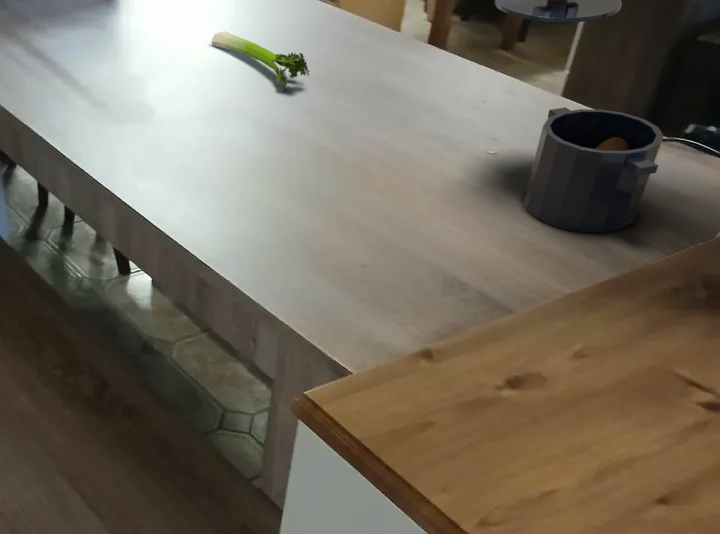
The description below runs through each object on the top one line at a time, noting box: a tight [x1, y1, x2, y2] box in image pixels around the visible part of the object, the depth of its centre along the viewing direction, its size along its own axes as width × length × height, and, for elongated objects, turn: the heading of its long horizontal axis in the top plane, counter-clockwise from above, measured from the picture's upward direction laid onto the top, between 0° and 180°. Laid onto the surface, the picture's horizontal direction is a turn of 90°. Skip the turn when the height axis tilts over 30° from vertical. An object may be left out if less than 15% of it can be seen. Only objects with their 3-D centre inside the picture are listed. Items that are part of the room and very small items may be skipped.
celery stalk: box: [210, 31, 311, 89], centre depth 166 cm, size 6×7×30 cm
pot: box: [524, 107, 664, 233], centre depth 119 cm, size 14×19×10 cm
